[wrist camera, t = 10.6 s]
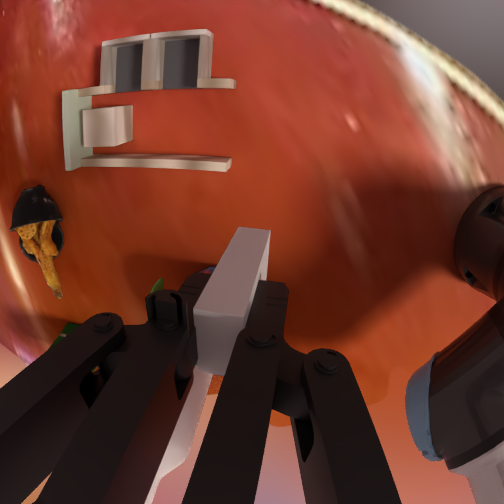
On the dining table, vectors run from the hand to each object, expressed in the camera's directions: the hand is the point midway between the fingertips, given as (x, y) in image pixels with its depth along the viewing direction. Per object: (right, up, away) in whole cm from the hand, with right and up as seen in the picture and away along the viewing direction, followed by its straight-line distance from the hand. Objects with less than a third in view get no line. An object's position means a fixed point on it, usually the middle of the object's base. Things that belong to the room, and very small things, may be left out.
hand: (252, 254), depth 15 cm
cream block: (-17, +16, +19) cm, 30 cm away
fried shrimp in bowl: (-32, +3, +29) cm, 43 cm away
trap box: (-12, +18, +18) cm, 28 cm away
